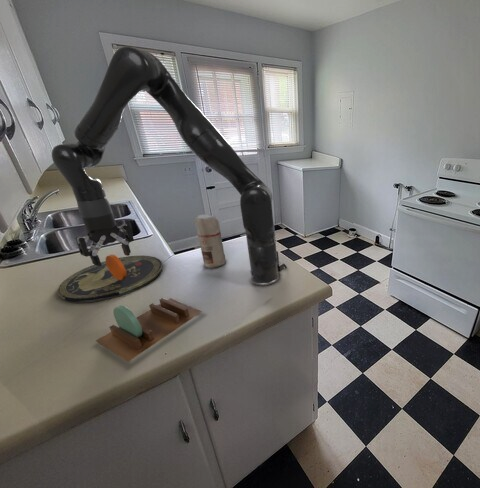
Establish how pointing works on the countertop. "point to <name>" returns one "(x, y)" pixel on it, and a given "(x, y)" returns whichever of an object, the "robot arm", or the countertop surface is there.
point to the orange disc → (116, 267)
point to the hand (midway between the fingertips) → (113, 260)
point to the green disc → (127, 321)
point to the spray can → (210, 240)
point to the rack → (149, 328)
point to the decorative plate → (109, 280)
